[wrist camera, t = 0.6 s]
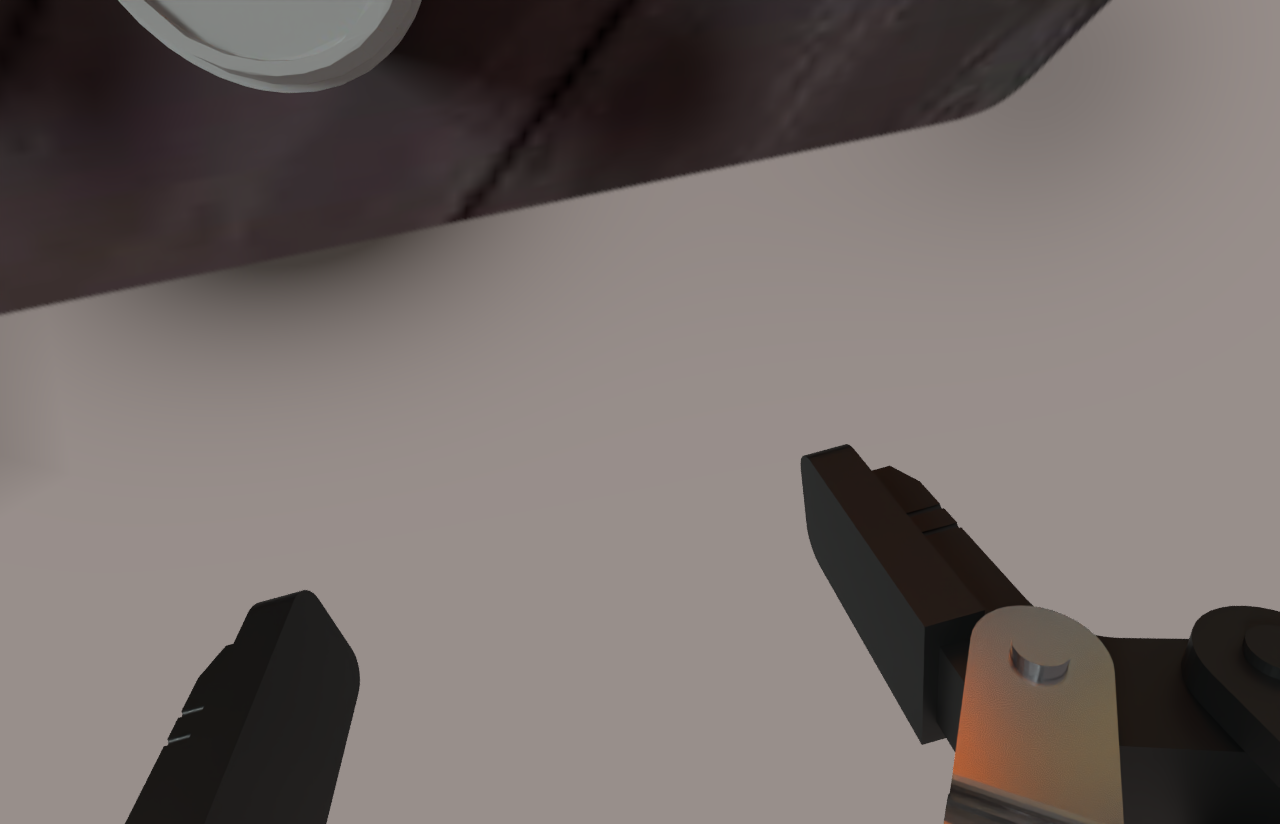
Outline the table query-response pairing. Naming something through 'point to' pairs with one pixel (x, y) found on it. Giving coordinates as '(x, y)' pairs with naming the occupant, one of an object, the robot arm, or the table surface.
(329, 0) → the disposable coffee cup
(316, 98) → the table surface
